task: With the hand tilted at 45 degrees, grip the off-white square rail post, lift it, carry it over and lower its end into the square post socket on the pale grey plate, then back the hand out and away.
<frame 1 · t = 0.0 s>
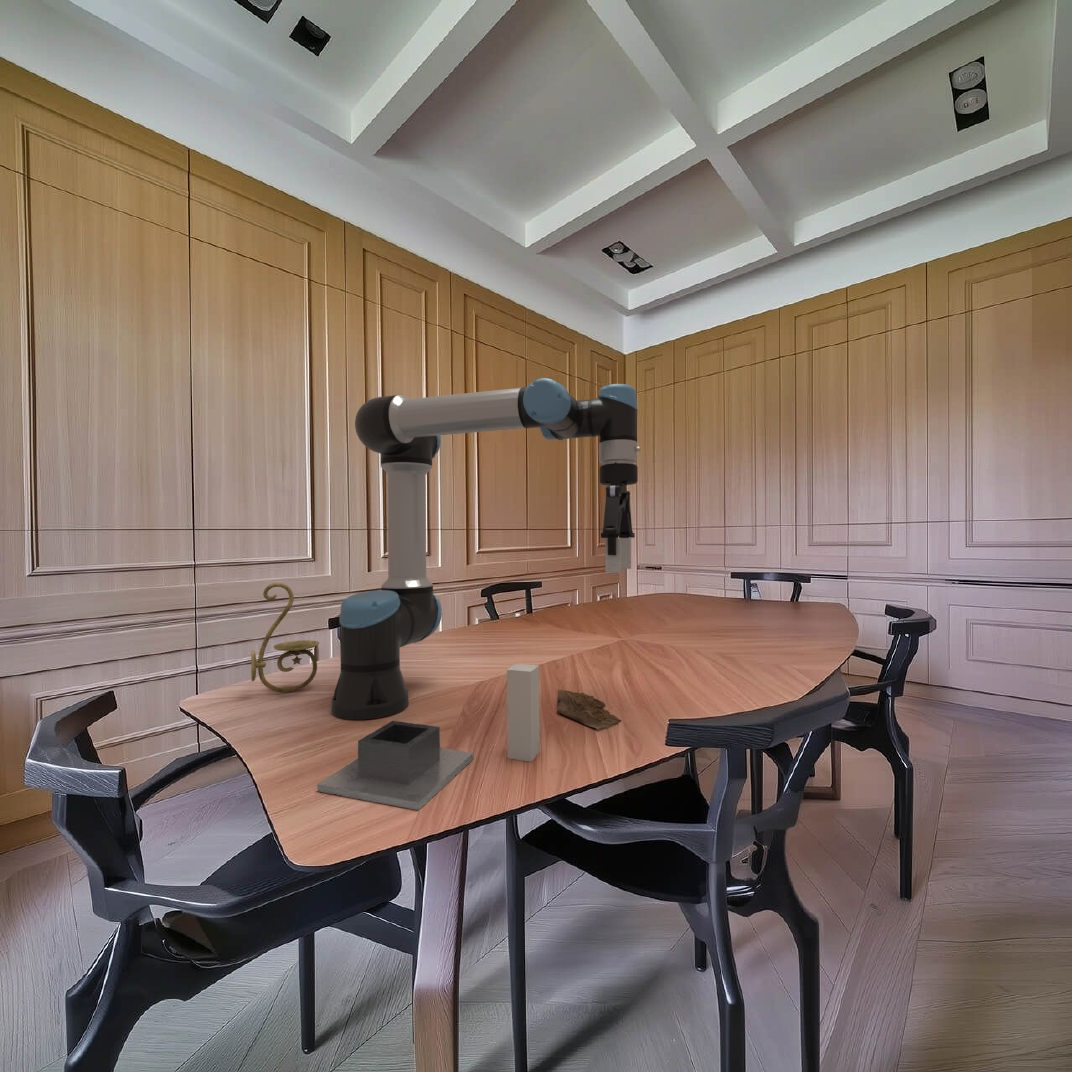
hand: (619, 570, 103), 28 cm above the table, tool pointing down, fingers open, 13 cm apart
wall sconce: (286, 693, 117), on the table
wooden fragment: (580, 710, 105), on the table
square post socket: (400, 774, 76), on the table
rail post: (523, 754, 83), on the table
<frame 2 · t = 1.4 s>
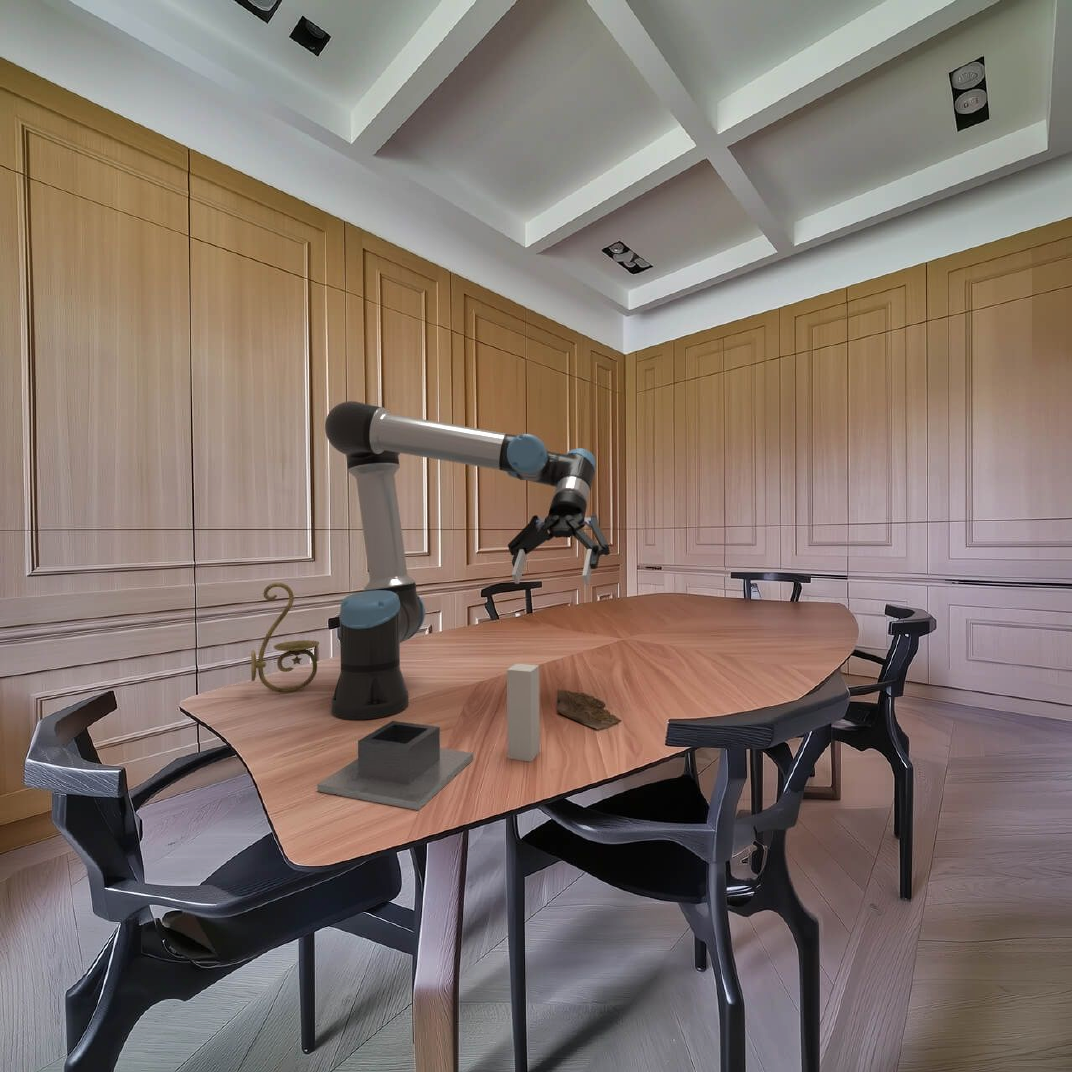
hand: (549, 579, 96), 27 cm above the table, tool tilted 45°, fingers open, 13 cm apart
nothing on the table moved.
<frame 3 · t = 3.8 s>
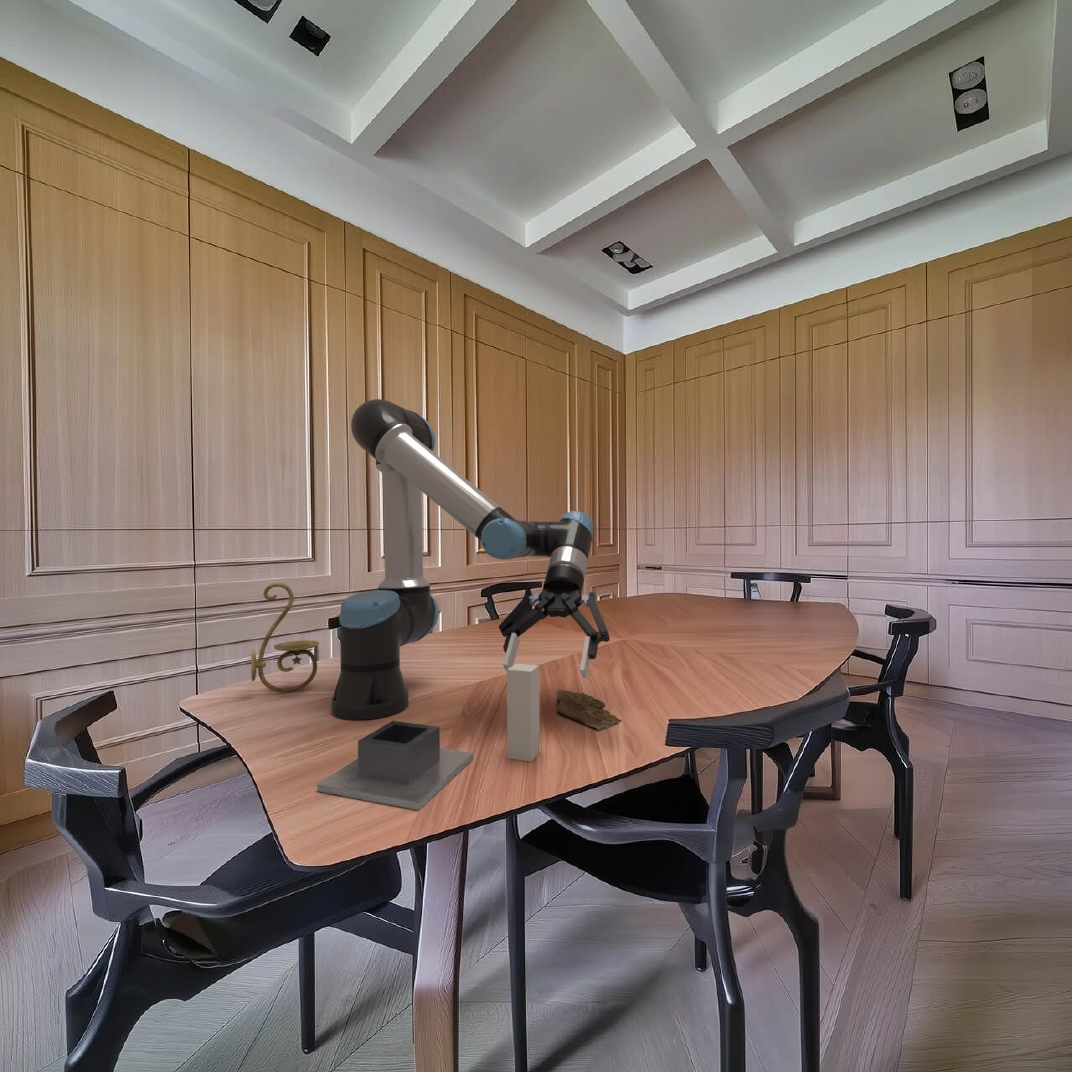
hand: (544, 671, 88), 12 cm above the table, tool tilted 45°, fingers open, 13 cm apart
nothing on the table moved.
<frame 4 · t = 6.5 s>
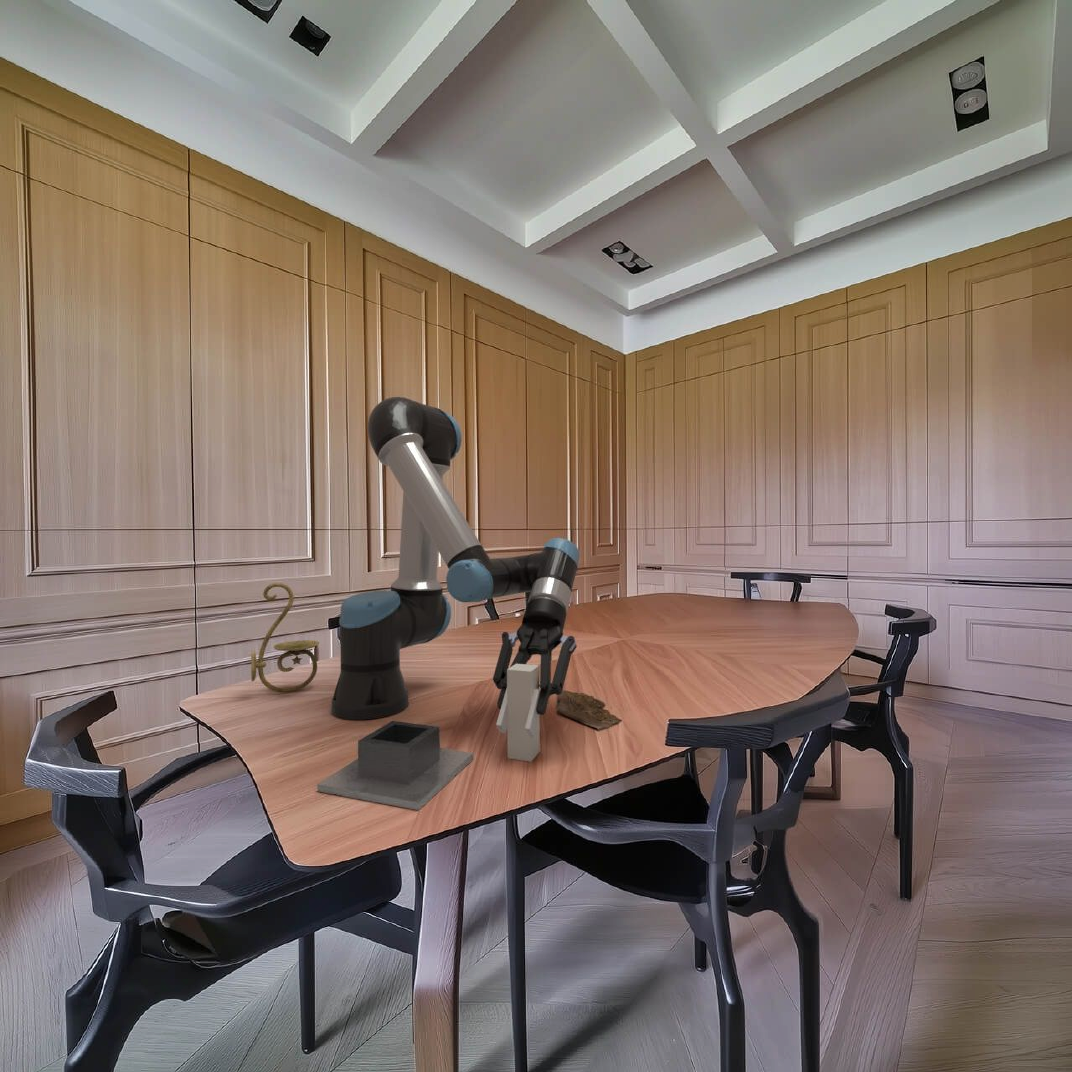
hand: (515, 730, 79), 5 cm above the table, tool tilted 45°, fingers closed on rail post, 4 cm apart
rail post: (523, 754, 83), on the table, touching gripper
everything else where it was.
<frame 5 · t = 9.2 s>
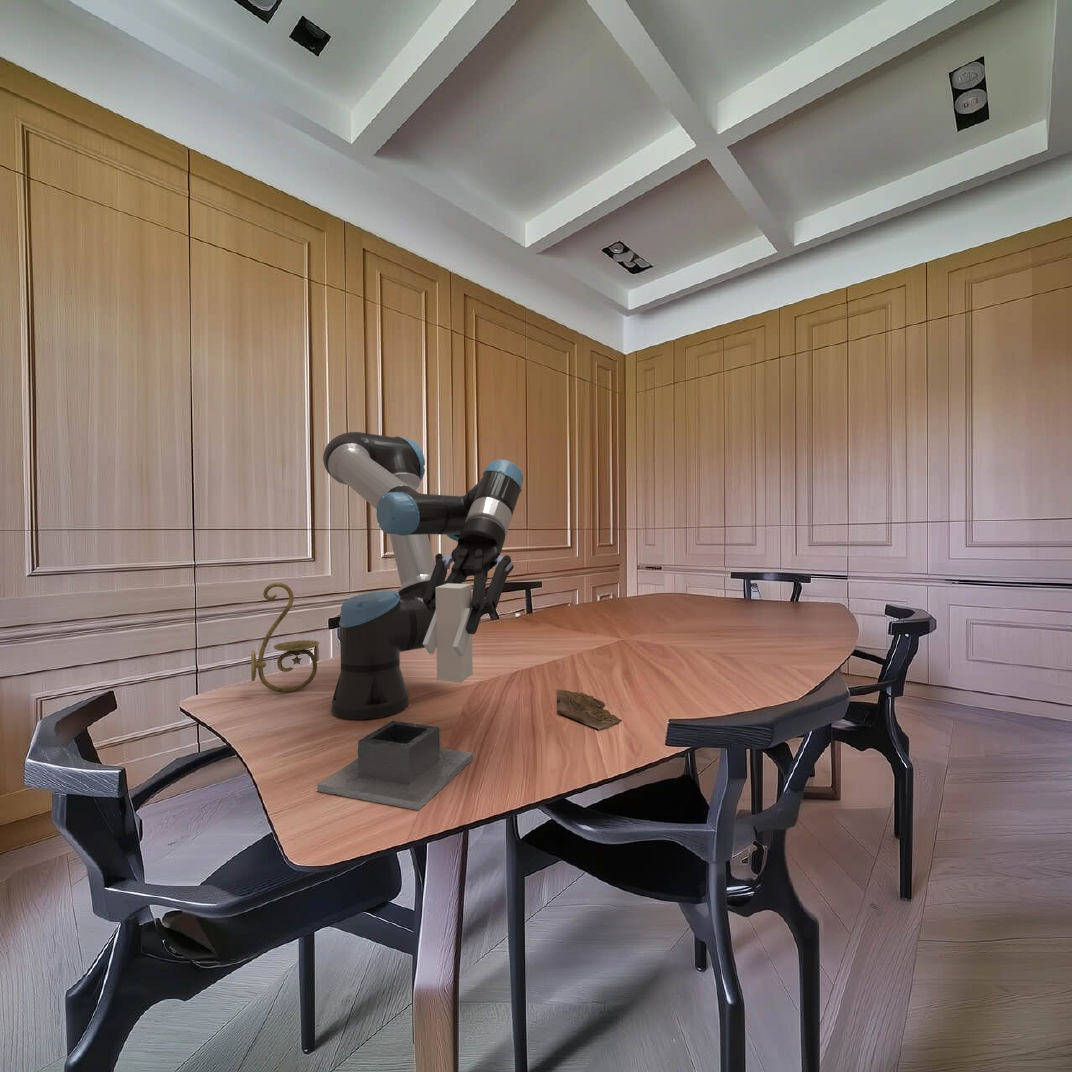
hand: (442, 649, 75), 19 cm above the table, tool tilted 40°, fingers closed on rail post, 4 cm apart
rail post: (455, 677, 79), point 14 cm above the table, touching gripper
everything else where it was.
when the fingers open (7 cm above the table, at t = 12.2 s): rail post stays where it is, resting on square post socket.
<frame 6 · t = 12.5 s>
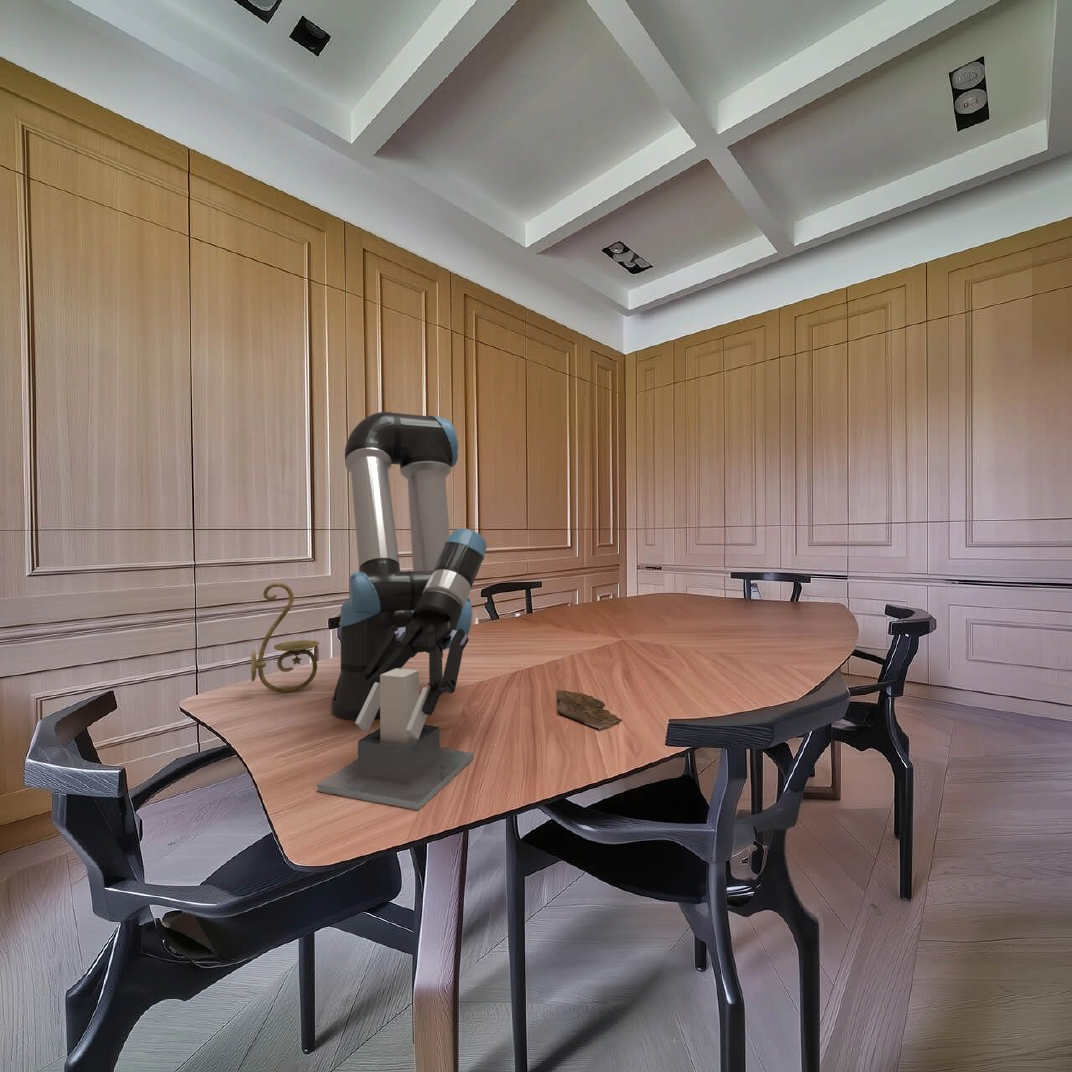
hand: (386, 730, 73), 8 cm above the table, tool tilted 45°, fingers open, 8 cm apart
rail post: (400, 767, 76), point 1 cm above the table, touching square post socket
everything else where it was.
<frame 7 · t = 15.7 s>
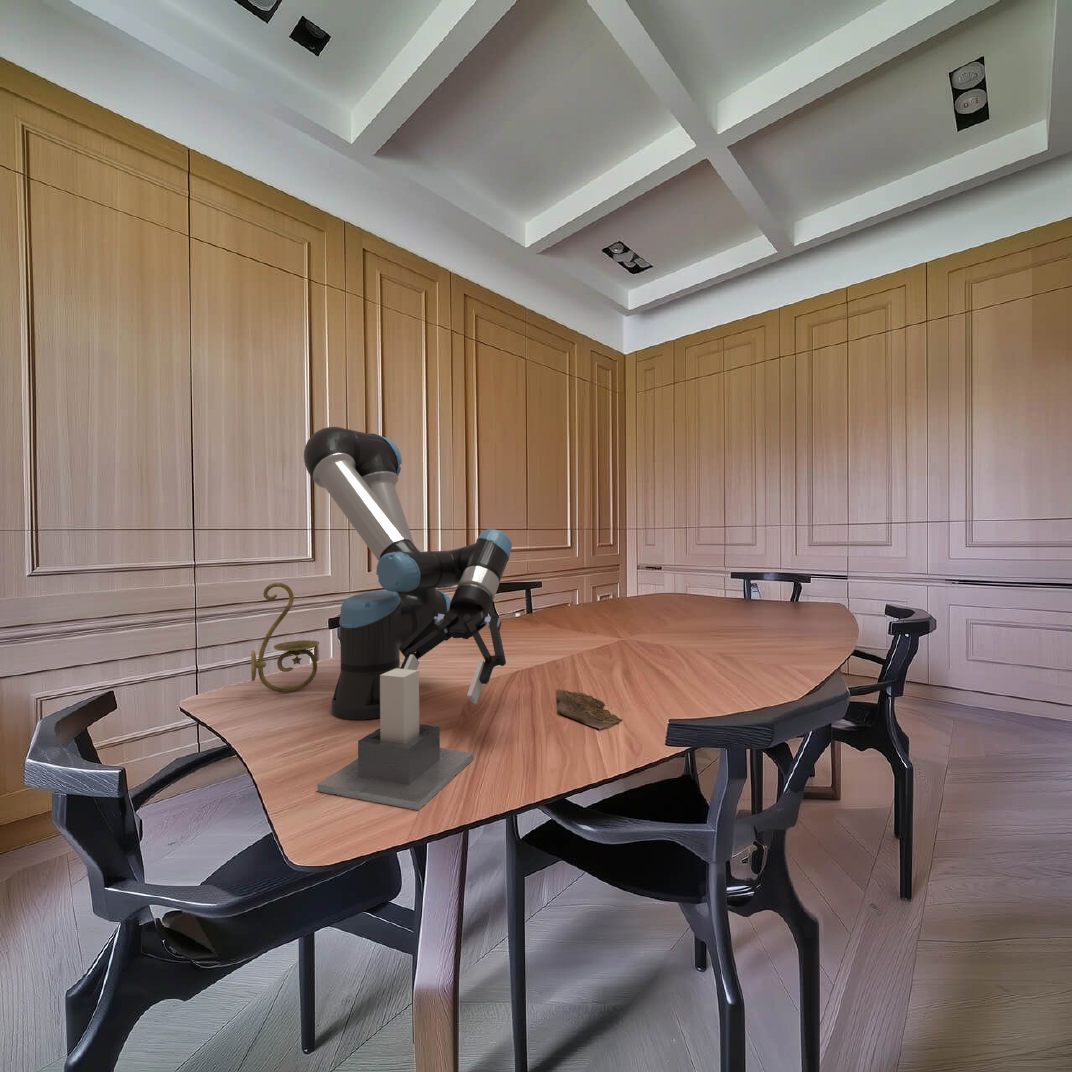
hand: (434, 695, 86), 9 cm above the table, tool tilted 45°, fingers open, 13 cm apart
nothing on the table moved.
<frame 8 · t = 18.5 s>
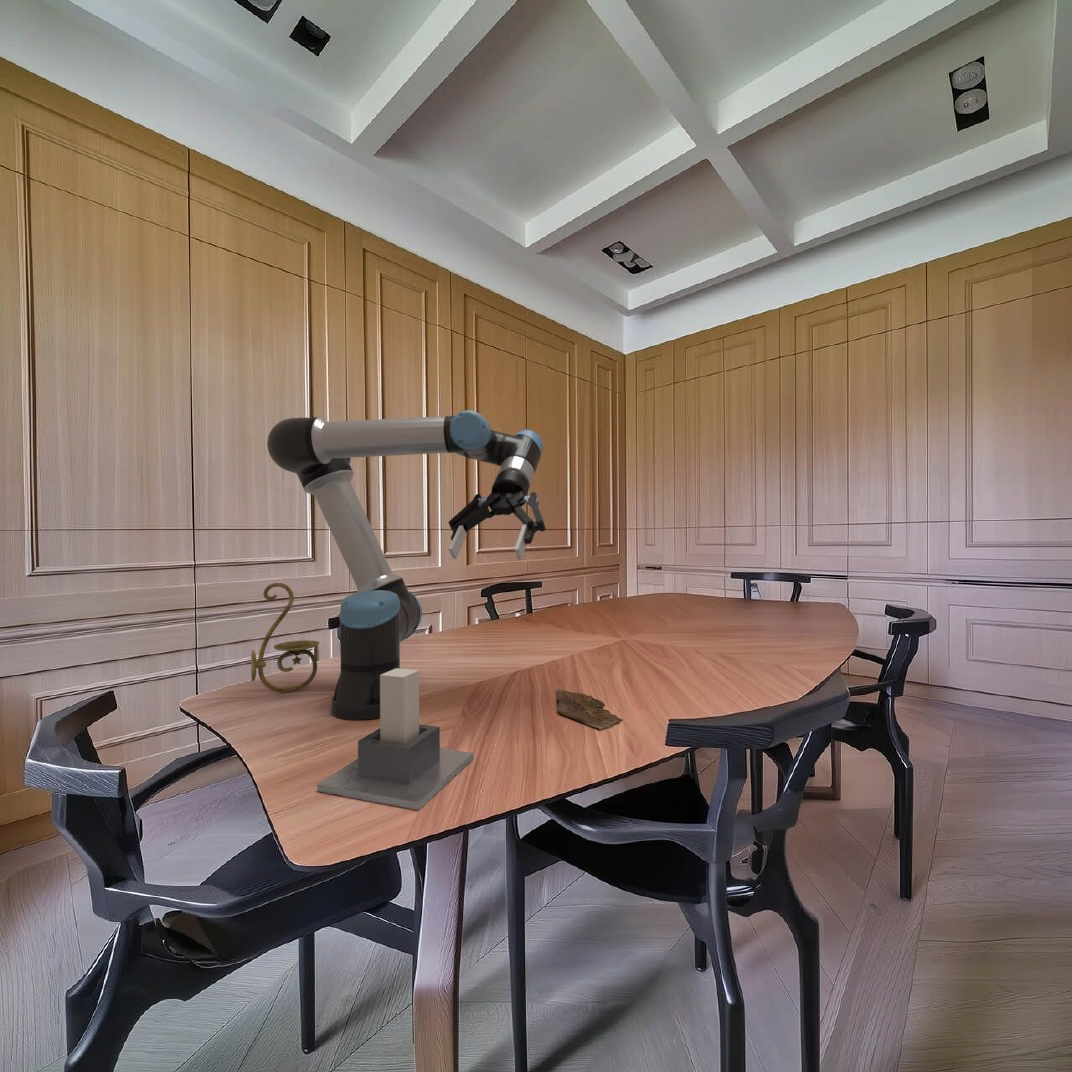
hand: (484, 554, 98), 32 cm above the table, tool tilted 45°, fingers open, 13 cm apart
nothing on the table moved.
at the end: rail post 0.0 cm off-centre on the square post socket, point 1.0 cm above the square post socket's base; rail post tilted 0°; the gripper is holding nothing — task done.
